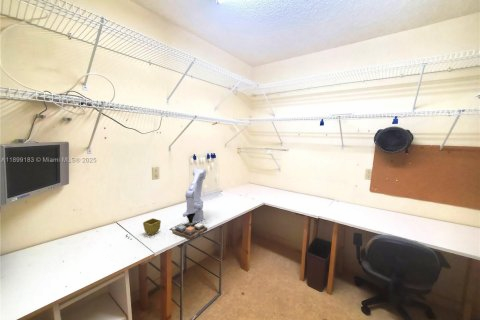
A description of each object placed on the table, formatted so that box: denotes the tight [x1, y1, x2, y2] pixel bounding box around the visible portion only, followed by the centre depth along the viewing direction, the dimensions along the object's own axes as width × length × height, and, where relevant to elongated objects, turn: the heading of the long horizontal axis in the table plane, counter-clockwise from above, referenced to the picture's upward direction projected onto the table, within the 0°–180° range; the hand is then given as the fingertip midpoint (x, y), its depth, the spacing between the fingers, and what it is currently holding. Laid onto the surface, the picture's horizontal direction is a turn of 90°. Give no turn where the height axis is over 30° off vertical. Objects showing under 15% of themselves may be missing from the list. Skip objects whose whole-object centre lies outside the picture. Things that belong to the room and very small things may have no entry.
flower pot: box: [142, 218, 162, 236], centre depth 143 cm, size 9×9×9 cm
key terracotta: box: [186, 226, 195, 233], centre depth 141 cm, size 4×4×2 cm
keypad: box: [171, 223, 208, 241], centre depth 147 cm, size 18×18×4 cm
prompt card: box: [169, 222, 185, 231], centre depth 154 cm, size 12×4×1 cm, turn 151°
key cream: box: [194, 222, 204, 228], centre depth 149 cm, size 4×4×2 cm
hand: (190, 222), depth 153 cm, fingers closed, pressing on key sage
